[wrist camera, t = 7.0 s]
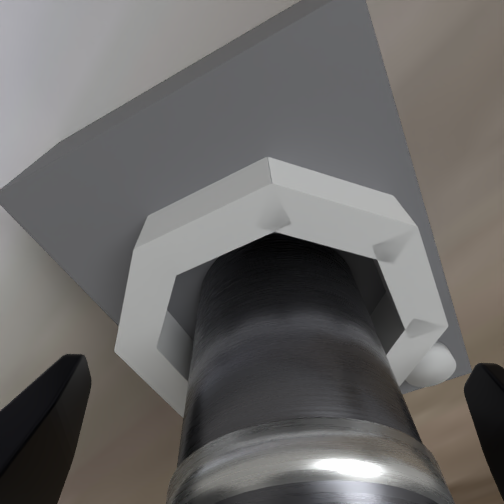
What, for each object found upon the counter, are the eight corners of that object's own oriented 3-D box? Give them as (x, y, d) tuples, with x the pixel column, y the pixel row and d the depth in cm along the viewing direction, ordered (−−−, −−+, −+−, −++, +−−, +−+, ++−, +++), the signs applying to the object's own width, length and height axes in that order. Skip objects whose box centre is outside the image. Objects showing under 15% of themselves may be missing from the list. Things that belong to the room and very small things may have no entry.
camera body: (424, 295, 16) (497, 412, 12) (236, 364, 18) (235, 487, 14) (321, -12, 10) (387, -19, 6) (59, 142, 12) (-48, 228, 8)
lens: (375, 233, 10) (576, 576, 4) (341, 357, 12) (434, 679, 7) (194, 226, 10) (124, 582, 4) (197, 354, 12) (158, 687, 6)
